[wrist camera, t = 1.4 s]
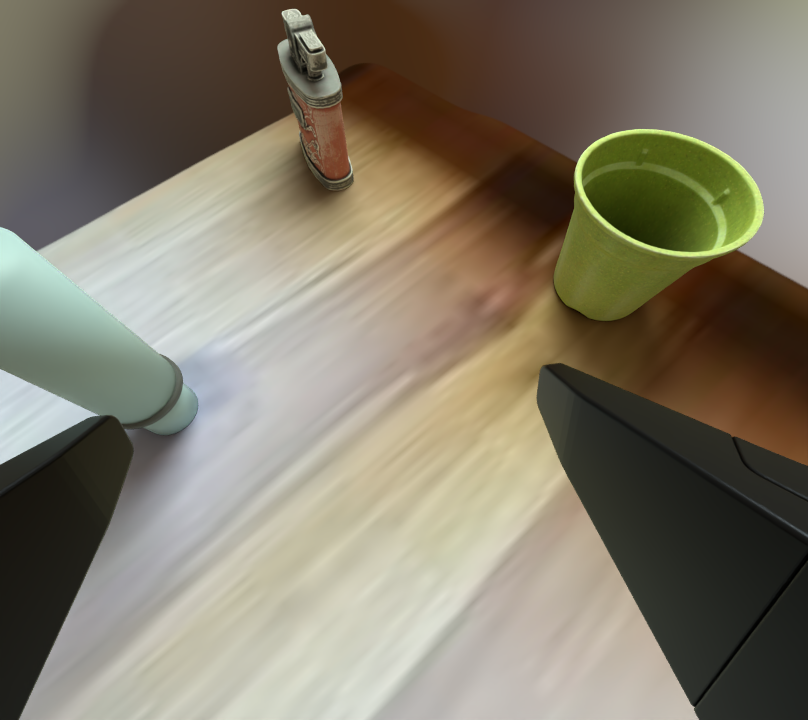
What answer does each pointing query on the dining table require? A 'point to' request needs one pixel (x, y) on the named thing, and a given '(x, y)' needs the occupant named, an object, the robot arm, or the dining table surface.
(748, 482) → the robot arm
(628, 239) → the plant pot
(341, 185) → the lighter
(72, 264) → the dining table surface
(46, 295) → the peg
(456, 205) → the dining table surface
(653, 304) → the dining table surface
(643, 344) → the dining table surface
